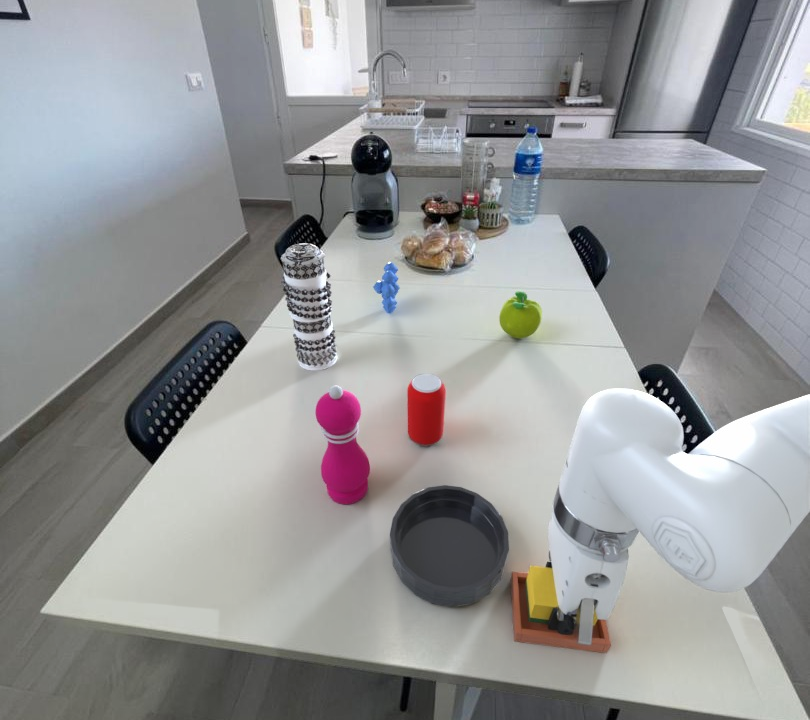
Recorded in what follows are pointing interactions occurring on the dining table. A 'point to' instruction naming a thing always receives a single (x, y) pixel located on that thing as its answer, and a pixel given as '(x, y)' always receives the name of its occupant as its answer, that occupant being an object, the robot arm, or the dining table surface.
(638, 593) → the dining table surface
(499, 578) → the pan
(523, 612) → the soap dish
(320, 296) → the decorative candle
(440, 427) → the beverage can
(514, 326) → the fruit
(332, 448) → the pepper mill
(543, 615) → the sponge
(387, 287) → the grapes
